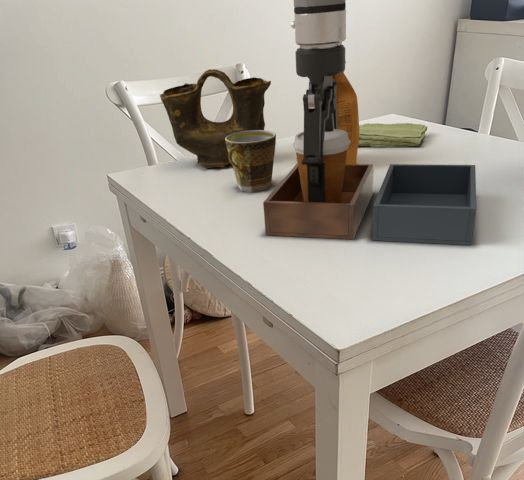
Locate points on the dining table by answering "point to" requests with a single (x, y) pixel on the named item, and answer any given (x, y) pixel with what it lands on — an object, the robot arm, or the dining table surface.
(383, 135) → the washcloth
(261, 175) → the ceramic cup
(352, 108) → the coffee package
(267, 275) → the dining table surface
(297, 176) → the wood bin
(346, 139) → the disposable coffee cup
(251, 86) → the pottery vessel
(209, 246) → the dining table surface
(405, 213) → the grey bin
